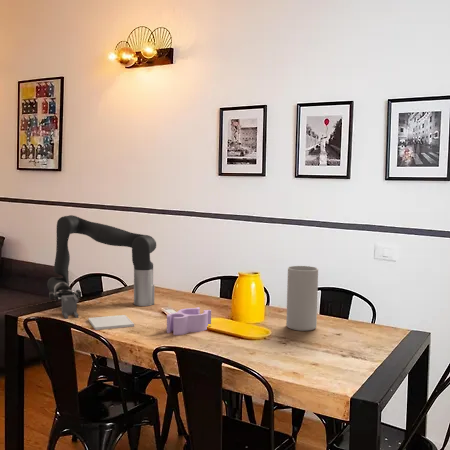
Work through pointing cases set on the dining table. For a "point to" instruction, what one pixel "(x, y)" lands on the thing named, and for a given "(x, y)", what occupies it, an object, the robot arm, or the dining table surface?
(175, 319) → the clip
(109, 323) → the grey mat
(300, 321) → the cylinder vase
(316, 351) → the dining table surface
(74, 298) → the charcoal stool
